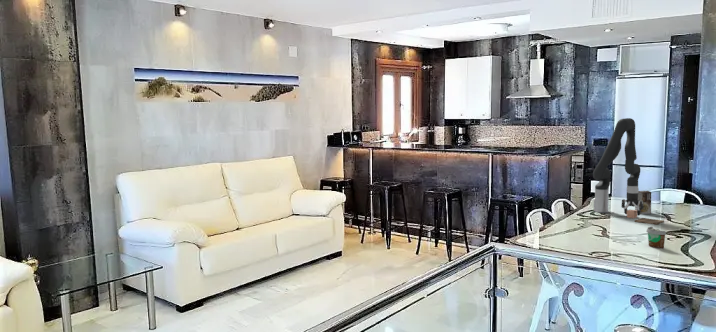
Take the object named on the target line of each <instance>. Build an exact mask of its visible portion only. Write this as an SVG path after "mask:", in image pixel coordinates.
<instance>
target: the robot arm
mask: <svg viewBox="0 0 716 332" xmlns="http://www.w3.org/2000/svg"><path fill="white" fill-rule="evenodd" d="M624 134H626V141H625V145H624V155H625V156H624V158H625V161H624V170H625V172H626V174H628V175H629V177H627V179H626V199H624V198H623V199H622V200H621V209H623V211H624V212H623V213H624V214H625V215H627V210H628V208H629V207H634V208H635V207H636V208H637V209H638V210H637V217H638V216H640V215H642V214H641V210H642V209H644V206H643V201H639V200H638V197H639V191H640V190H639V178H640V175H641V166H640V164H638V163H635V161H636V160H637V157H638V156H637V152H636V122H635V120H634V119H633V118H629V117H627V118H621V119H618V121H617V122H616V124H615V127H614V131H613V132H612V136H611V138H610V140H609V141H608V144H607V145H606V147H605V149H604V152H603V153H602V156H601V158H600V159H599V162H598V163H597V165H596V166H595V168H594V170H593V172H592V177H593V180H596V181H599V182H598V183H596V184H595V185H594V186H595V187H594V198H593V212H596V213H608V212H609V196H610V195H609V191H610V190H609V189H610V188H609V187H610V186H611V185H610V184H611V170H610V169H609V168H608V166H609V165H611V163H613V161H615V159H616V158H617V157H618V156H619V154H620V152H621V149H622V138H623V136H624ZM638 203H639V204H640V207H639V205H638Z"/></svg>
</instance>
